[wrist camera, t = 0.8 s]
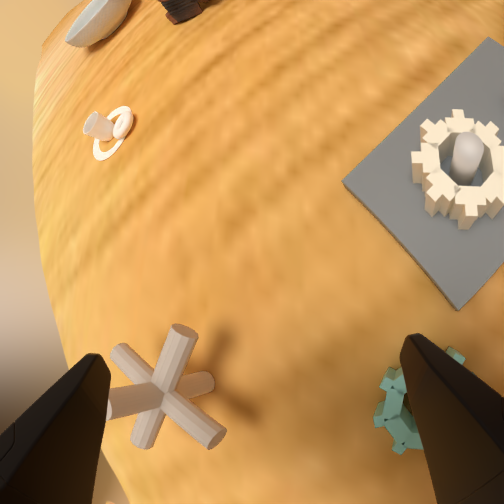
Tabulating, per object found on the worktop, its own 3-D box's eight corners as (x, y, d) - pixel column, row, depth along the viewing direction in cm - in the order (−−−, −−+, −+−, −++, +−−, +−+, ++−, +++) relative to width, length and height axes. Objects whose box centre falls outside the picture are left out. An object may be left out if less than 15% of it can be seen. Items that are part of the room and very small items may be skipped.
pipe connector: (147, 392, 26) (54, 407, 18) (184, 298, 26) (80, 288, 17) (229, 461, 21) (139, 512, 13) (285, 362, 21) (193, 394, 12)
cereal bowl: (149, -15, 46) (128, -32, 40) (137, 23, 42) (110, 2, 36) (97, 26, 53) (76, 13, 47) (80, 70, 50) (55, 55, 43)
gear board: (586, 131, 11) (611, 92, 6) (455, 310, 16) (473, 311, 11) (487, 45, 16) (490, -3, 11) (345, 187, 21) (321, 149, 16)
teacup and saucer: (146, 115, 34) (122, 100, 30) (112, 172, 35) (86, 161, 31) (118, 103, 38) (97, 90, 34) (89, 151, 39) (67, 141, 35)
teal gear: (488, 395, 14) (499, 409, 11) (411, 453, 15) (410, 474, 13) (438, 324, 16) (443, 327, 14) (362, 387, 18) (353, 399, 15)
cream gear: (521, 182, 14) (535, 163, 11) (463, 252, 15) (472, 241, 13) (451, 117, 17) (453, 91, 14) (392, 178, 18) (388, 157, 16)
